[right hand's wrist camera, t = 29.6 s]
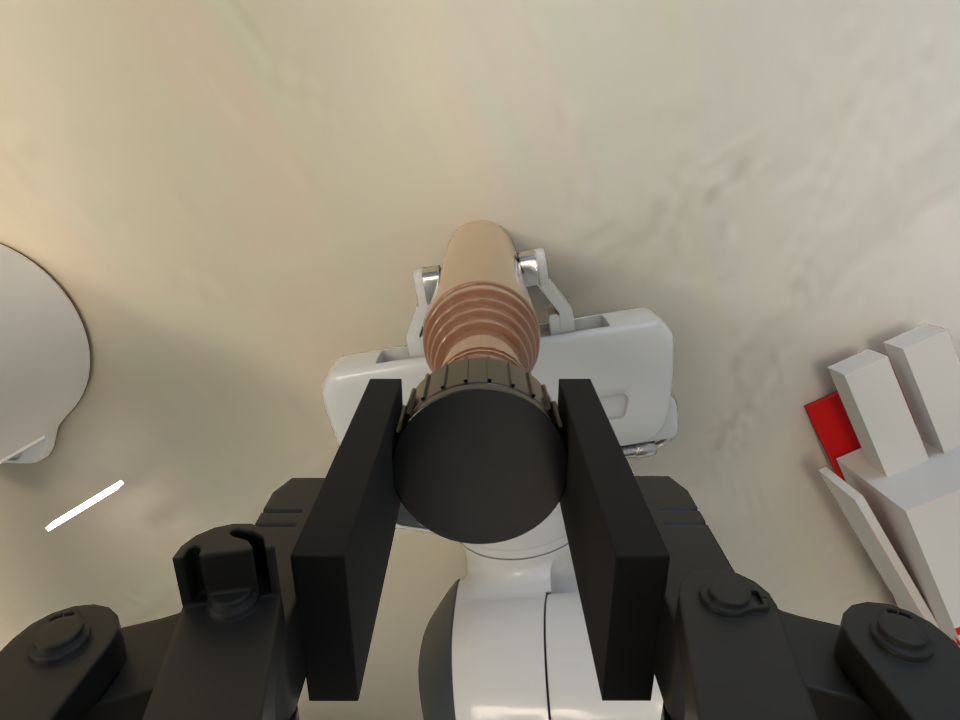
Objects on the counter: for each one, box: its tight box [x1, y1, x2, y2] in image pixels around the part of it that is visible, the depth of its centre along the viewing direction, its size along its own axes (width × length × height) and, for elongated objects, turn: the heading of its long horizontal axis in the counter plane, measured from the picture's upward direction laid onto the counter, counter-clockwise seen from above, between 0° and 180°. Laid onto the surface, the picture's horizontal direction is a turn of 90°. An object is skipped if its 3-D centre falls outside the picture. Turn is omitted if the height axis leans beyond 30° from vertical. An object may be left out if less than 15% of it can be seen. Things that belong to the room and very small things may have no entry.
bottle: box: [423, 221, 540, 372], centre depth 29 cm, size 4×4×24 cm
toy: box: [804, 324, 960, 647], centre depth 41 cm, size 12×13×30 cm
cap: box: [392, 356, 568, 544], centre depth 14 cm, size 4×4×2 cm
